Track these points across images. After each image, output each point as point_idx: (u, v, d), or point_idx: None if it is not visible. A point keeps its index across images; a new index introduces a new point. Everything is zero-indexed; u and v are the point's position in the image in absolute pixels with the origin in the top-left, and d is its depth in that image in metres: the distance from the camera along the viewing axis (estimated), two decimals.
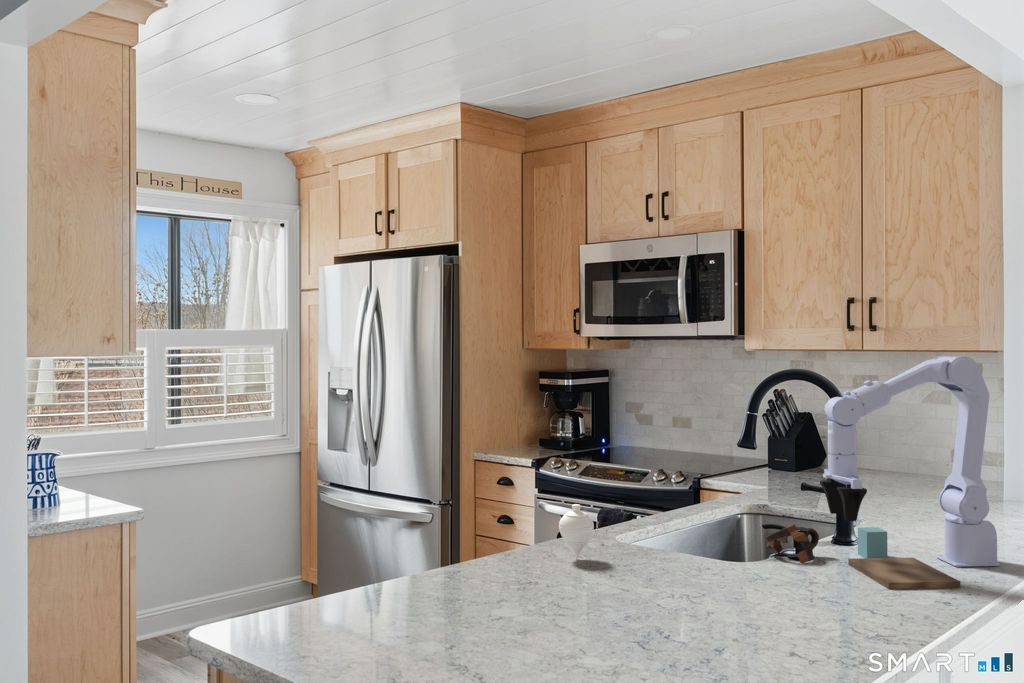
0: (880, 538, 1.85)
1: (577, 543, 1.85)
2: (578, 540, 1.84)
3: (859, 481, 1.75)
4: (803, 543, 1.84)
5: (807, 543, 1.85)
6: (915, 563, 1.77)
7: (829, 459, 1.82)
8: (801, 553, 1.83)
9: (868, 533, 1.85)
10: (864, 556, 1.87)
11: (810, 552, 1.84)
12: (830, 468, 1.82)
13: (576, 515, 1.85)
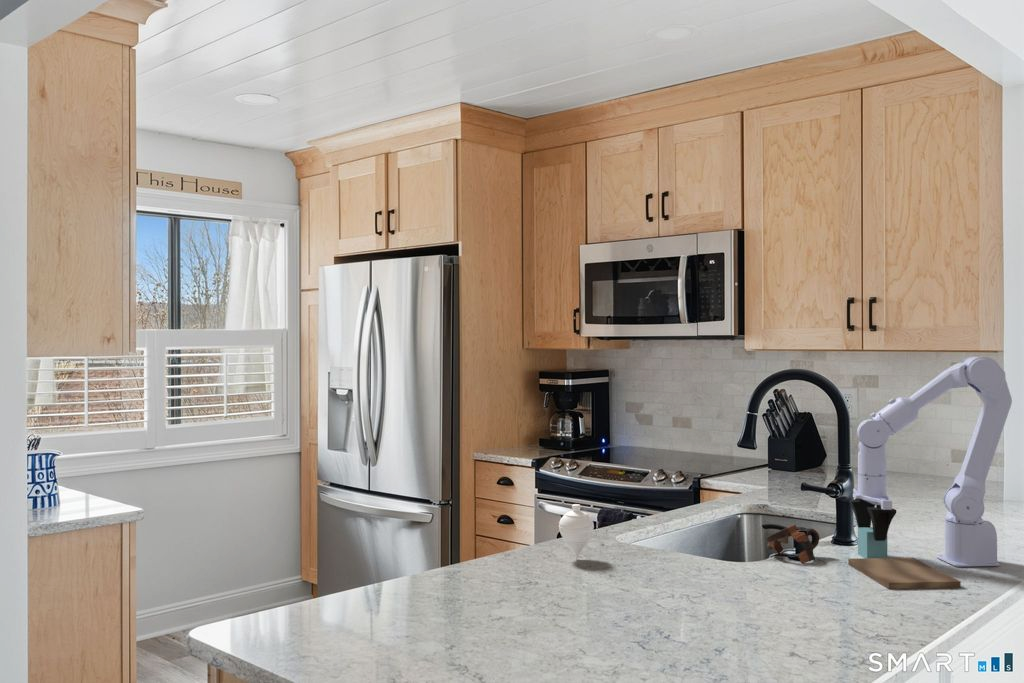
0: None
1: (577, 543, 1.85)
2: (578, 540, 1.84)
3: (889, 502, 1.81)
4: (804, 543, 1.84)
5: (808, 543, 1.84)
6: (915, 563, 1.77)
7: (859, 480, 1.88)
8: (802, 553, 1.83)
9: (868, 533, 1.85)
10: (864, 556, 1.87)
11: (811, 552, 1.84)
12: (860, 488, 1.87)
13: (576, 515, 1.85)
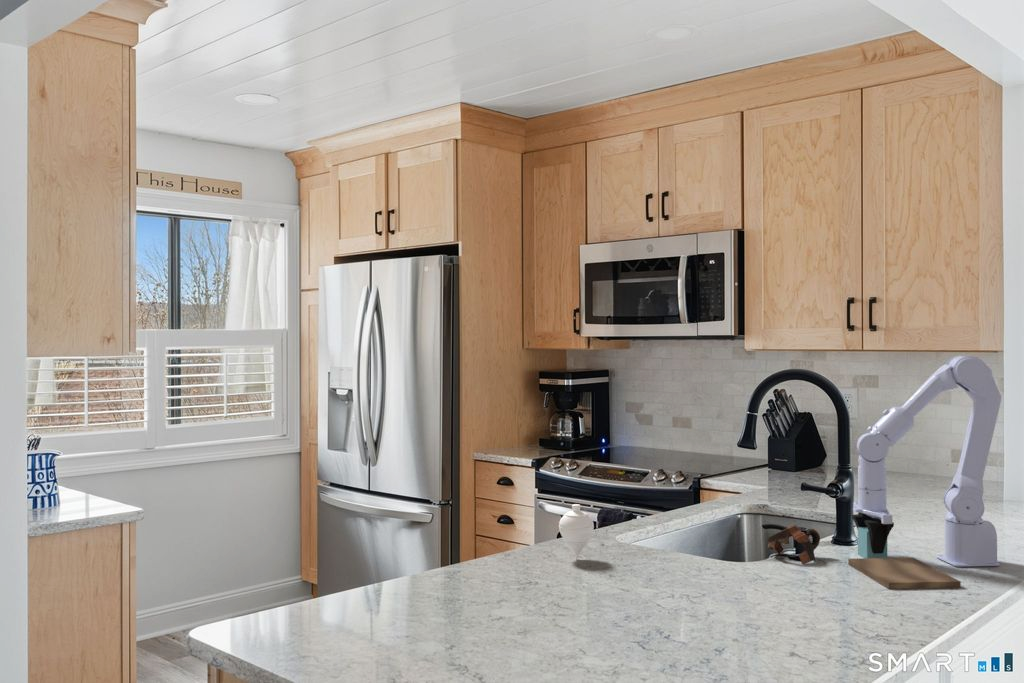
0: None
1: (577, 543, 1.85)
2: (578, 540, 1.84)
3: (889, 516, 1.81)
4: (804, 544, 1.83)
5: (808, 544, 1.84)
6: (915, 563, 1.77)
7: (859, 494, 1.88)
8: (802, 554, 1.82)
9: (868, 533, 1.85)
10: (864, 556, 1.87)
11: (811, 553, 1.84)
12: (860, 502, 1.87)
13: (576, 515, 1.85)
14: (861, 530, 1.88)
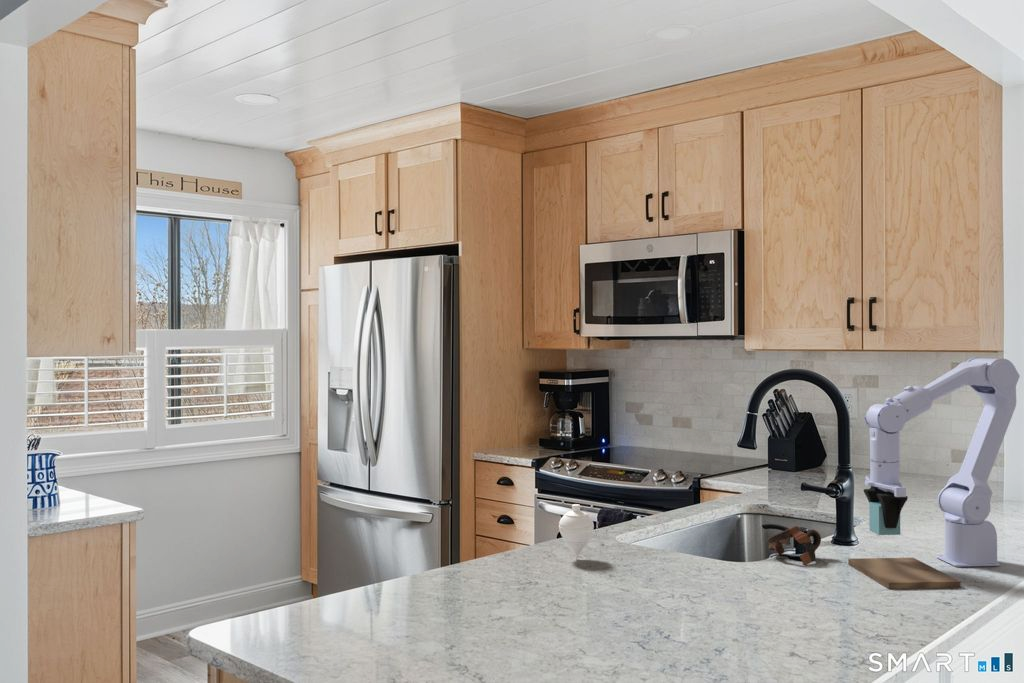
0: None
1: (577, 543, 1.85)
2: (578, 540, 1.84)
3: (903, 489, 1.73)
4: (806, 545, 1.82)
5: (809, 545, 1.83)
6: (915, 563, 1.77)
7: (871, 466, 1.81)
8: (804, 555, 1.82)
9: (880, 507, 1.78)
10: (876, 531, 1.80)
11: (813, 554, 1.83)
12: (872, 475, 1.80)
13: (575, 515, 1.85)
14: (873, 505, 1.81)
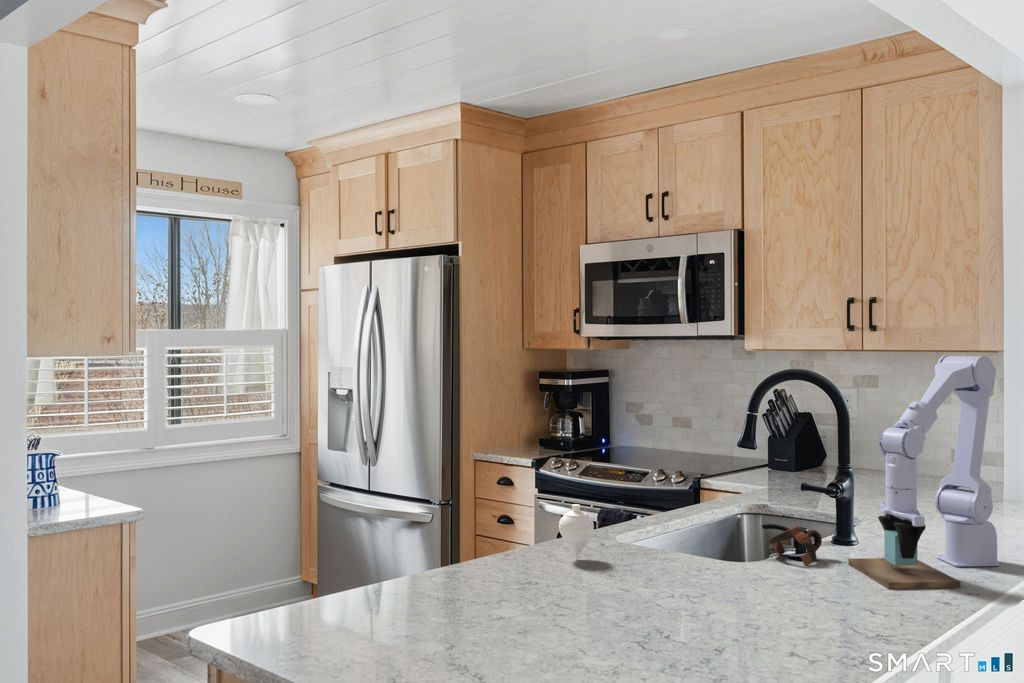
0: None
1: (577, 543, 1.85)
2: (578, 540, 1.84)
3: (921, 518, 1.65)
4: (807, 545, 1.82)
5: (810, 545, 1.83)
6: None
7: (887, 493, 1.73)
8: (805, 555, 1.81)
9: (896, 536, 1.70)
10: (892, 561, 1.72)
11: (813, 554, 1.83)
12: (888, 502, 1.72)
13: (575, 515, 1.85)
14: (888, 533, 1.73)
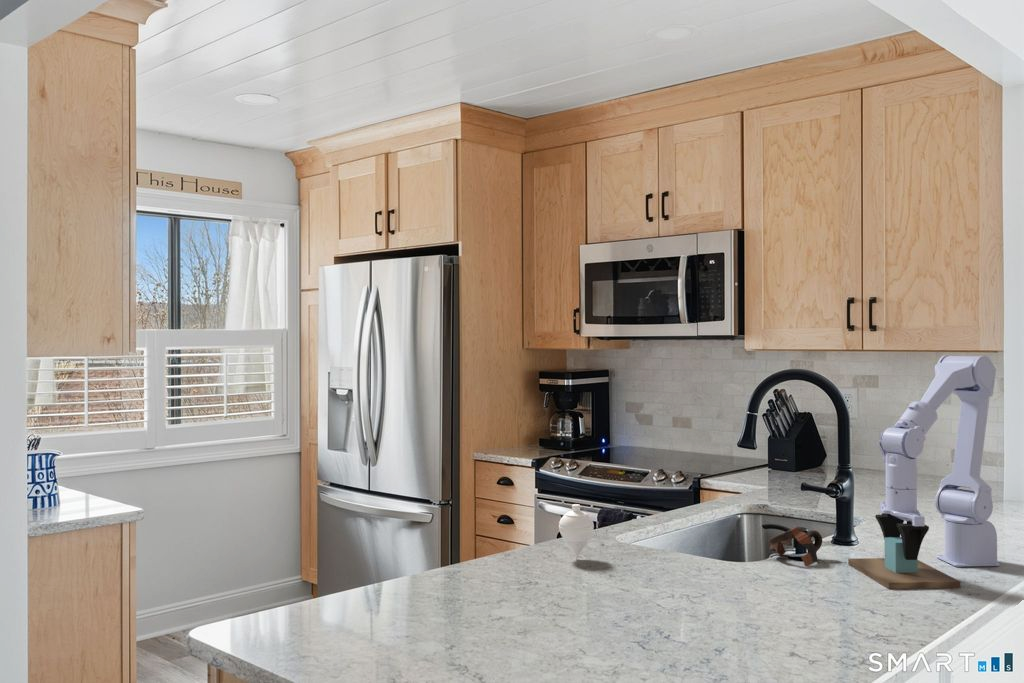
0: None
1: (577, 543, 1.85)
2: (578, 540, 1.84)
3: (921, 518, 1.65)
4: (807, 546, 1.82)
5: (811, 546, 1.82)
6: None
7: (887, 493, 1.73)
8: (805, 556, 1.81)
9: (897, 544, 1.70)
10: (892, 569, 1.72)
11: (814, 555, 1.82)
12: (888, 502, 1.72)
13: (575, 515, 1.85)
14: (888, 541, 1.73)
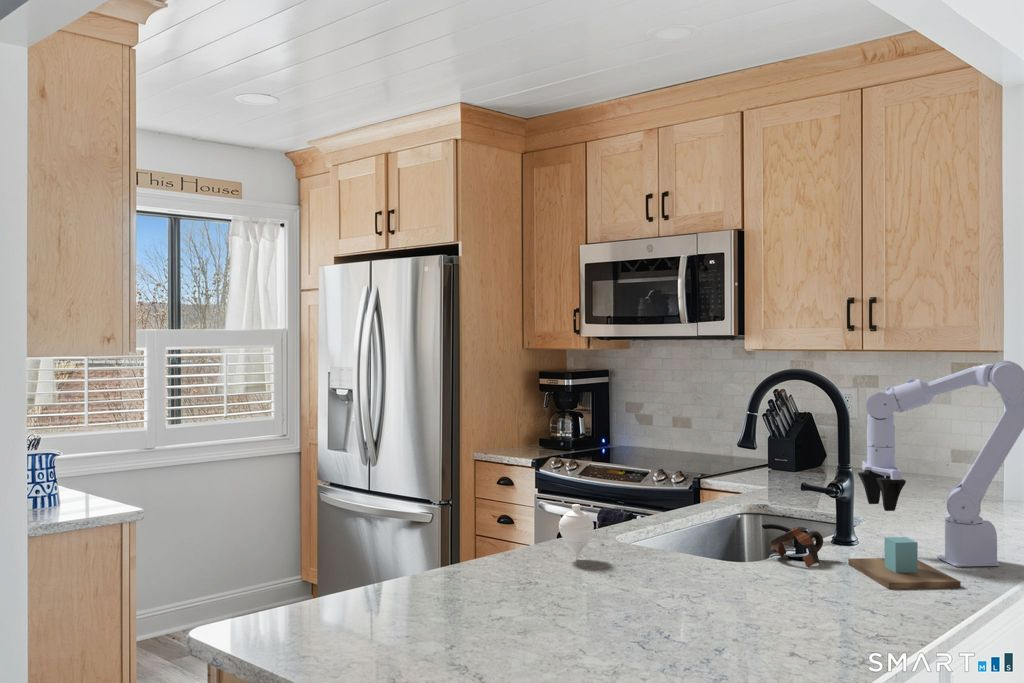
0: (910, 549, 1.70)
1: (577, 543, 1.85)
2: (578, 540, 1.84)
3: (898, 472, 1.83)
4: (808, 546, 1.81)
5: (812, 546, 1.82)
6: None
7: (868, 451, 1.90)
8: (807, 557, 1.80)
9: (897, 544, 1.70)
10: (892, 569, 1.72)
11: (815, 555, 1.82)
12: (869, 459, 1.89)
13: (575, 515, 1.85)
14: (888, 541, 1.73)
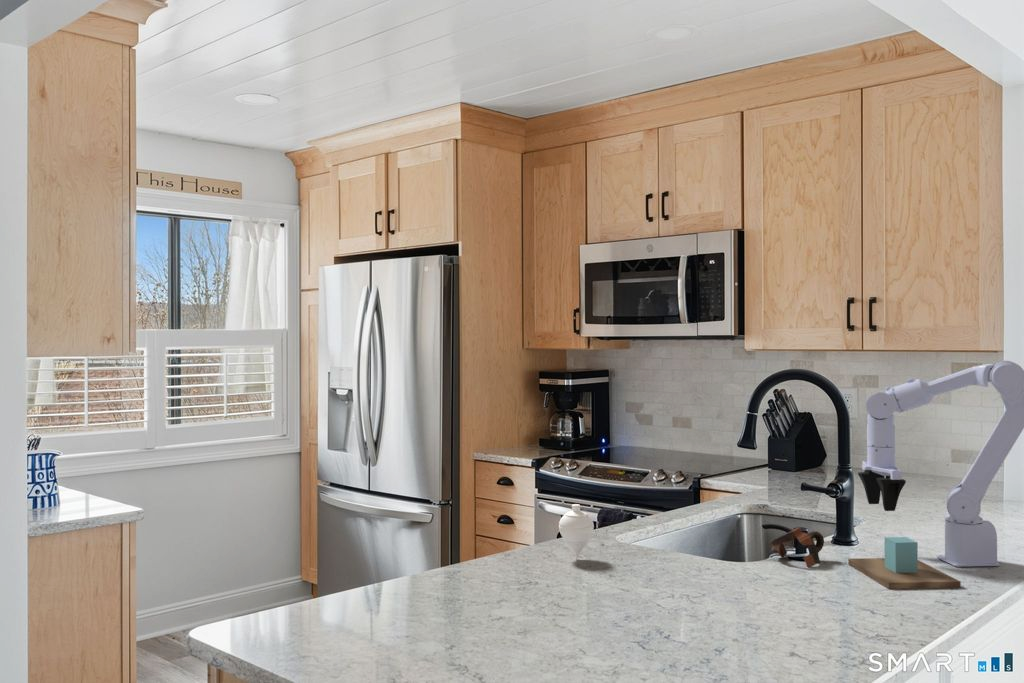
0: (910, 549, 1.70)
1: (577, 543, 1.85)
2: (578, 540, 1.84)
3: (898, 472, 1.83)
4: (809, 547, 1.81)
5: (813, 547, 1.81)
6: None
7: (868, 451, 1.90)
8: (808, 557, 1.80)
9: (897, 544, 1.70)
10: (892, 569, 1.72)
11: (816, 556, 1.81)
12: (869, 459, 1.89)
13: (575, 515, 1.85)
14: (888, 541, 1.73)
